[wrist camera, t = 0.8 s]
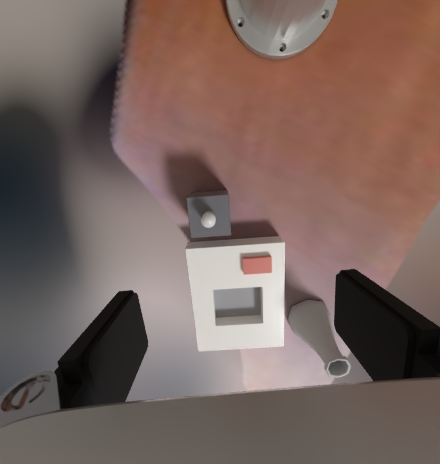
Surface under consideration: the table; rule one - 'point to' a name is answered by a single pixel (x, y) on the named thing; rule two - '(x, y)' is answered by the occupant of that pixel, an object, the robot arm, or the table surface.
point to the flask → (318, 334)
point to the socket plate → (237, 292)
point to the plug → (209, 214)
